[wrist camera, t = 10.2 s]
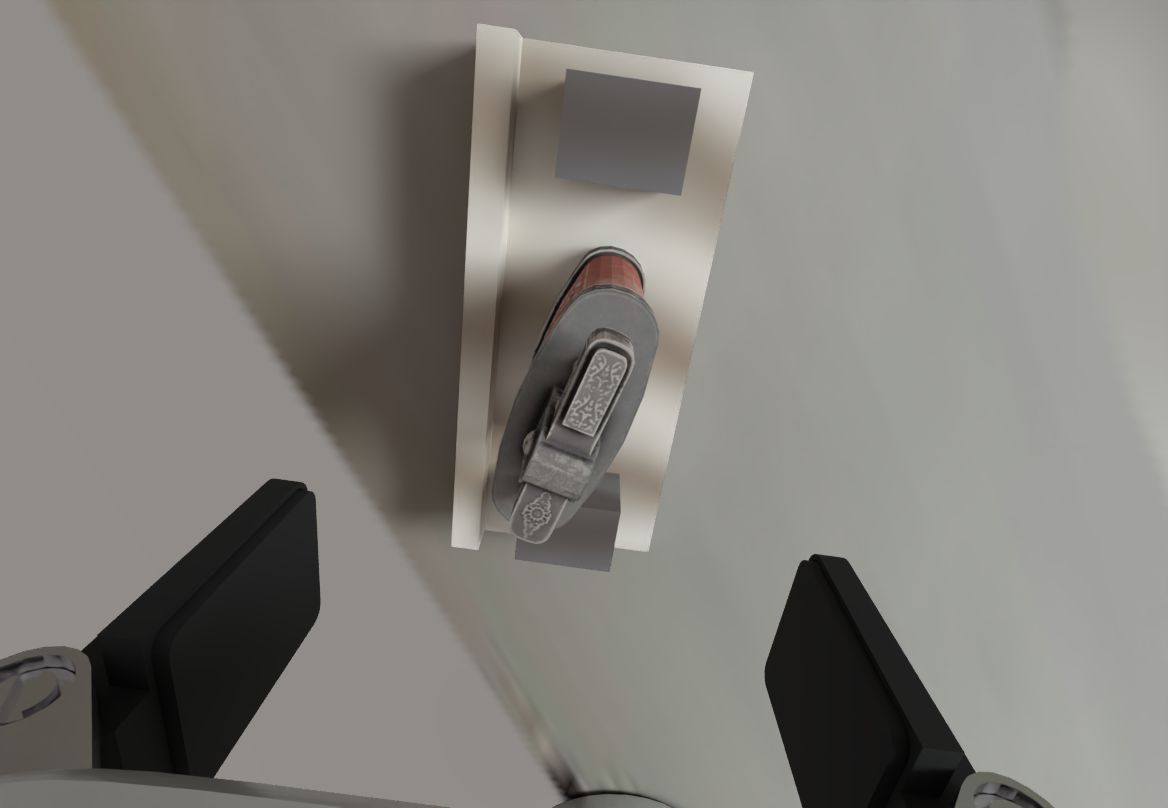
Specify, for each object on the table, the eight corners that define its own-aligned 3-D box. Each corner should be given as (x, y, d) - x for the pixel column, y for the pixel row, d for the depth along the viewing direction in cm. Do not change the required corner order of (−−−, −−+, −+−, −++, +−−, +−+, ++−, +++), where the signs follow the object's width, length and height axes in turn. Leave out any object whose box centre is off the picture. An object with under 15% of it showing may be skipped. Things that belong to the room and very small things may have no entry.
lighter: (581, 438, 25) (564, 604, 16) (508, 409, 25) (448, 562, 16) (663, 267, 22) (701, 350, 13) (582, 230, 22) (561, 289, 12)
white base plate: (646, 532, 29) (652, 596, 25) (466, 508, 29) (442, 568, 25) (744, 77, 21) (777, 59, 17) (495, 40, 21) (466, 13, 16)
